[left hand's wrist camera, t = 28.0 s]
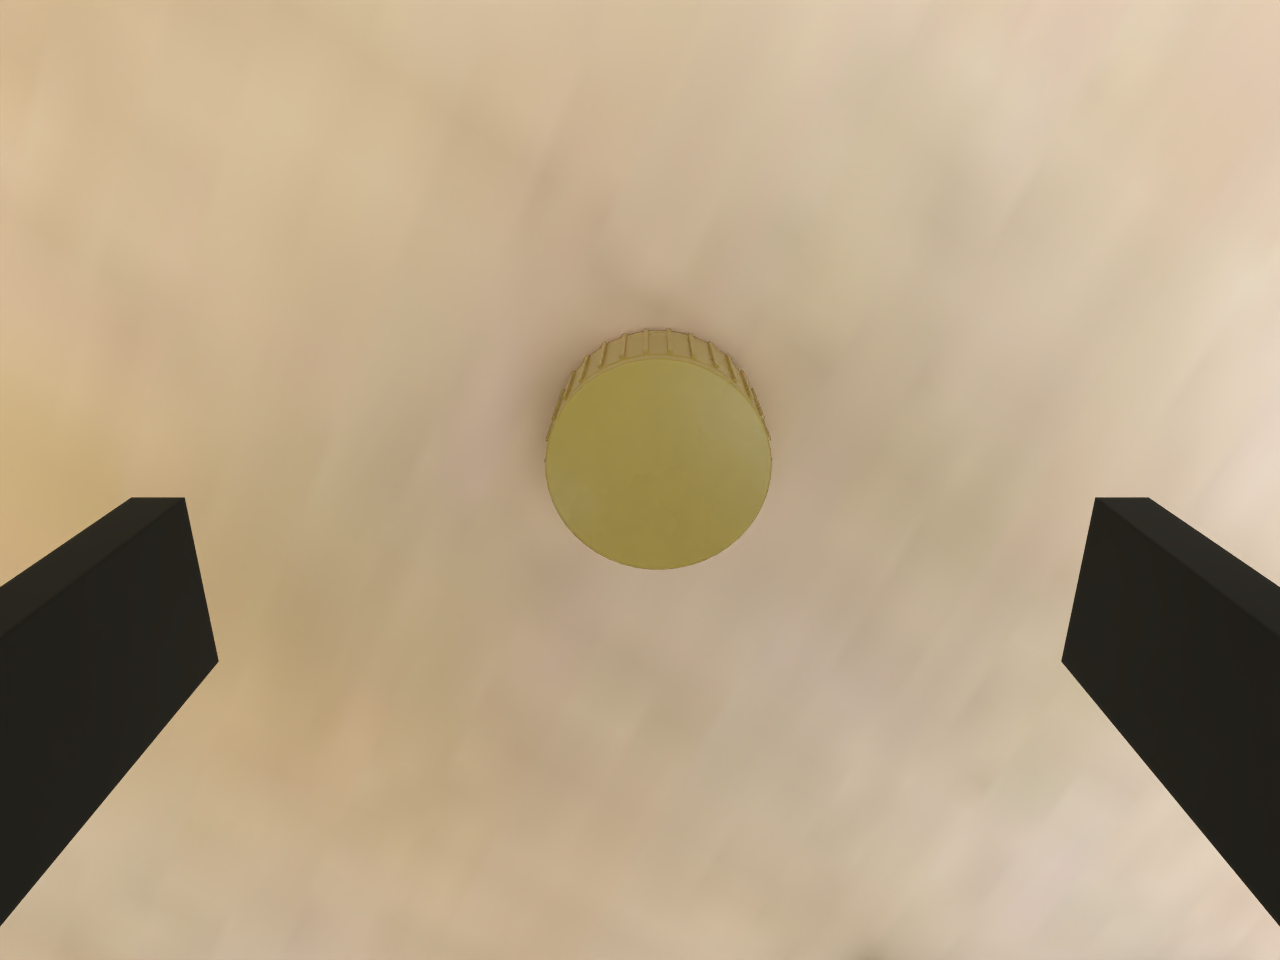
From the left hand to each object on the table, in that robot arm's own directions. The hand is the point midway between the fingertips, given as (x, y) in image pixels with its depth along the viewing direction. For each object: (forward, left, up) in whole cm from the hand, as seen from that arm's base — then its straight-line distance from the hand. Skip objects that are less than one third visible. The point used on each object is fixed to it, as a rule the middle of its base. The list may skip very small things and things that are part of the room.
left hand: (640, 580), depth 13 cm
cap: (0, 0, -4) cm, 4 cm away
